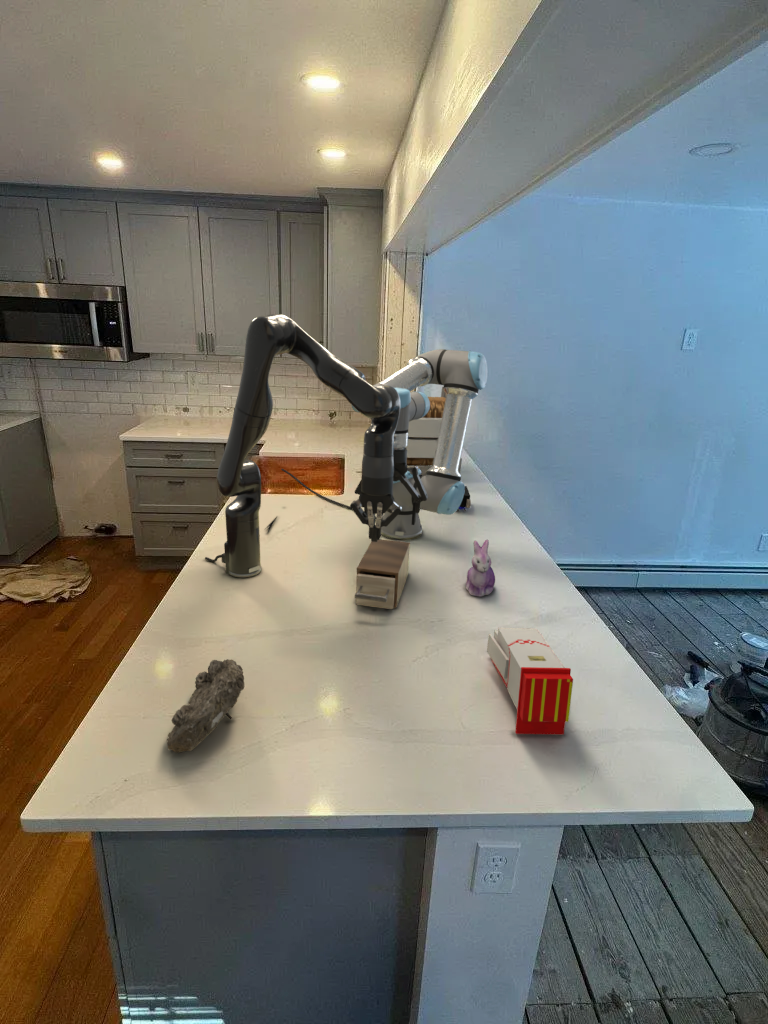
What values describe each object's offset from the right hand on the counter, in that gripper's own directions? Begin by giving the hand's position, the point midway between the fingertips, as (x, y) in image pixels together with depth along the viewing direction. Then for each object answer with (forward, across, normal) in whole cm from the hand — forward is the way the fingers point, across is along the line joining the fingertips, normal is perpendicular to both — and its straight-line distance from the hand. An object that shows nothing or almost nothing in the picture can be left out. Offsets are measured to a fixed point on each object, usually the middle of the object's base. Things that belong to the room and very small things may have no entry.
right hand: (389, 520), depth 160 cm
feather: (+18, -48, +36) cm, 63 cm away
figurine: (+18, +27, +1) cm, 33 cm away
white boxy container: (+18, -5, +117) cm, 118 cm away
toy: (+19, +37, -43) cm, 60 cm away
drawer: (+18, 0, -11) cm, 21 cm away
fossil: (+19, -22, -66) cm, 72 cm away
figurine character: (+18, +17, +71) cm, 75 cm away
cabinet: (+18, 0, -5) cm, 19 cm away
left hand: (-2, 0, -21) cm, 21 cm away
